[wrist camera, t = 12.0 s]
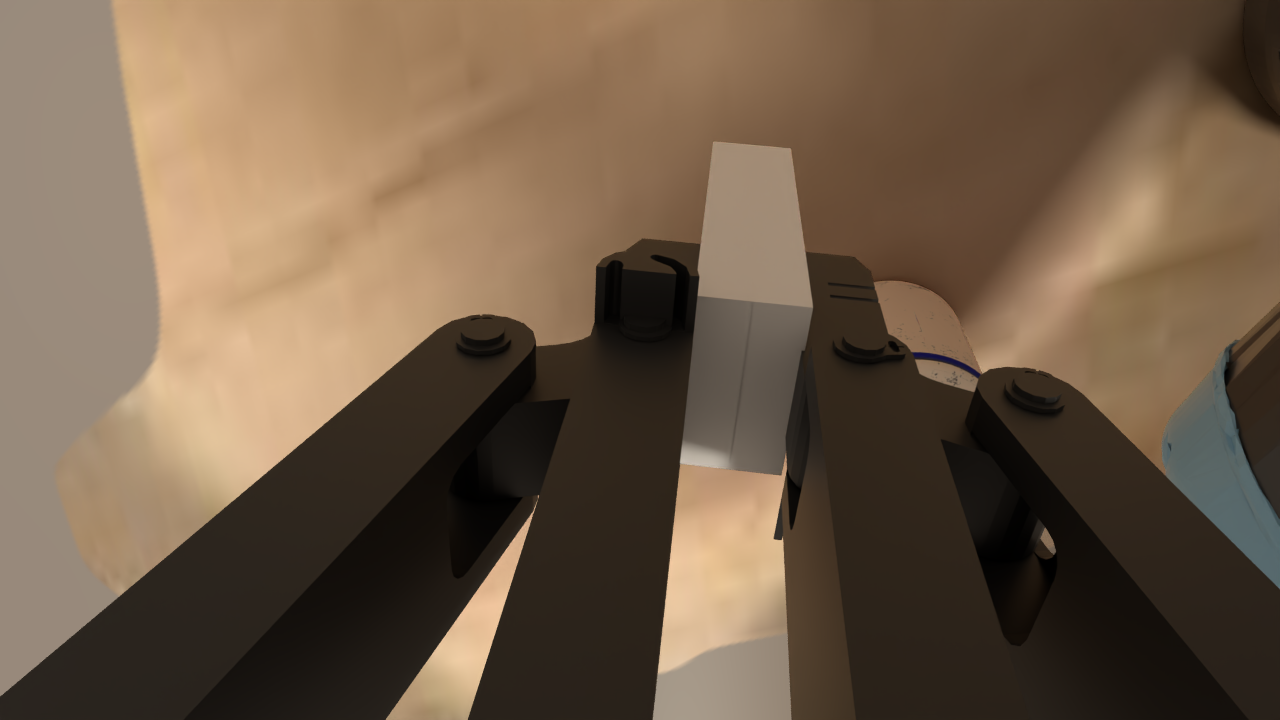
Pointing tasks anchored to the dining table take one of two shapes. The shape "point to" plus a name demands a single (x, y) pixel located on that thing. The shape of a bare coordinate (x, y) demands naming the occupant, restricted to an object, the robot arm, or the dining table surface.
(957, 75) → the dining table surface
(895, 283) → the teacup with lid
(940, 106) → the dining table surface
